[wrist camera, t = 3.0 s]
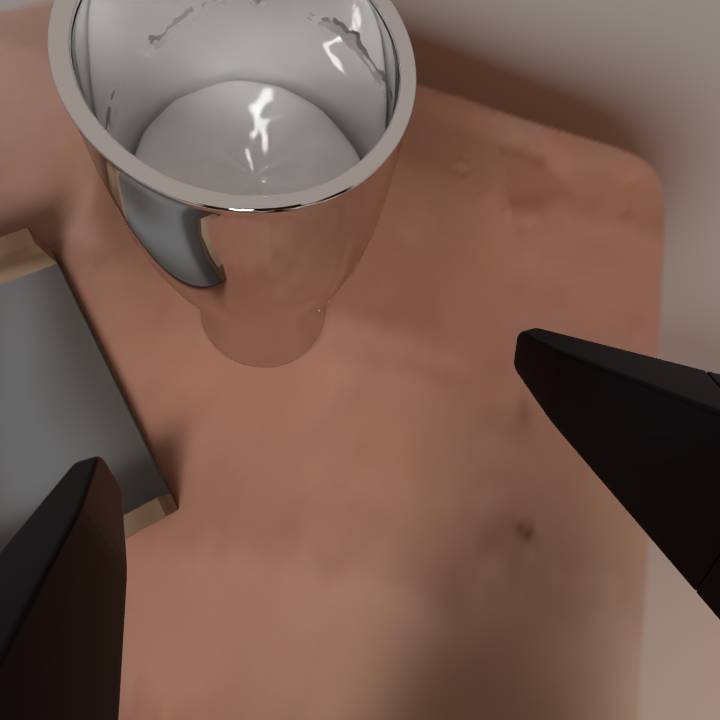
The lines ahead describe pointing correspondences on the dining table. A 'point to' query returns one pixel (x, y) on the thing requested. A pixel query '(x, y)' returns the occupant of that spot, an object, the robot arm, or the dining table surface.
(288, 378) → the dining table surface
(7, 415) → the wooden tray
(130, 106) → the silver metal cup
